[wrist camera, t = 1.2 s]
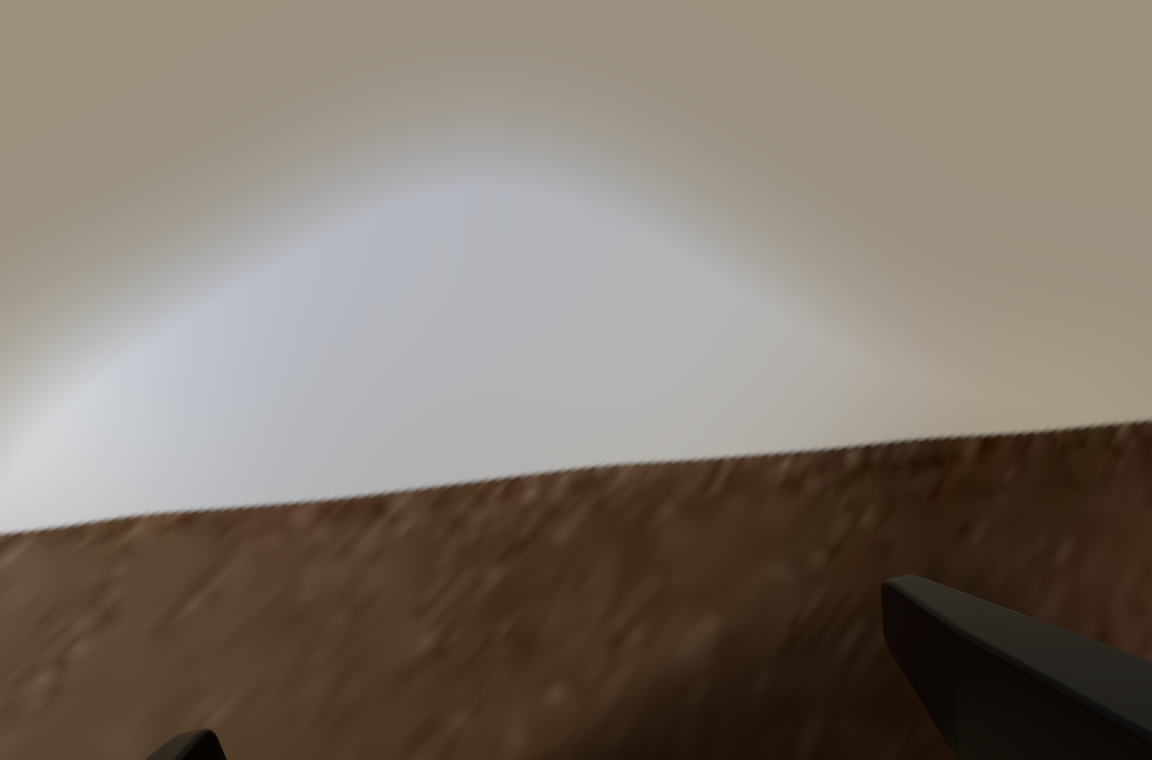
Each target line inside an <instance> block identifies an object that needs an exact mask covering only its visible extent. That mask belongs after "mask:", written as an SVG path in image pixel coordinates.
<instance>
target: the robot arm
mask: <svg viewBox="0 0 1152 760" xmlns="http://www.w3.org/2000/svg"><path fill="white" fill-rule="evenodd" d="M881 604H882V619H883V632H884V637H885V640H886V643H887V646H888V648H889V650H890V652H891V653H892V655H893V657H894V658H895V660H896V661H897V663H898V665H899V666H900V668H901V670H902V671H903V673H904V674H905V676H906V678H907V679H908V681H909V682H910V684H911V686H912V687H913V689H914V691H915V692H916V694H917V695H918V697H919V699H920V700H921V702H922V704H923V705H924V707H925V708H926V710H927V712H928V713H929V715H930V716H931V718H932V720H933V721H934V723H935V725H936V726H937V728H938V729H939V731H940V733H941V734H942V736H943V738H944V739H945V741H946V742H947V744H948V745H949V747H950V749H951V750H952V752H953V753H954V755H955V756H956V758H957V759H958V760H1152V661H1151V660H1148V659H1145V658H1142V657H1140V656H1137V655H1134V654H1131V653H1129V652H1126V651H1123V650H1120V649H1118V648H1115V647H1112V646H1109V645H1107V644H1104V643H1101V642H1098V641H1096V640H1093V639H1090V638H1087V637H1085V636H1082V635H1079V634H1076V633H1074V632H1071V631H1068V630H1066V629H1063V628H1060V627H1057V626H1055V625H1052V624H1049V623H1046V622H1044V621H1041V620H1038V619H1035V618H1033V617H1030V616H1027V615H1024V614H1022V613H1019V612H1016V611H1013V610H1011V609H1008V608H1005V607H1002V606H1000V605H997V604H994V603H991V602H989V601H986V600H983V599H980V598H978V597H975V596H972V595H969V594H967V593H964V592H961V591H958V590H956V589H953V588H950V587H947V586H945V585H942V584H939V583H936V582H934V581H931V580H928V579H926V578H923V577H920V576H917V575H912V574H909V575H904V576H900V577H895V578H891V579H887V580H885V581H884V582H883V583H882V585H881ZM145 760H227V759H226V757H225V754H224V752H223V750H222V747H221V745H220V742H219V740H218V738H217V736H216V734H215V733H214V732H213V731H212V730H210V729H201V730H196V731H192V732H187V733H183V734H179V735H177V736H175V737H173V738H172V739H170V740H169V741H168V742H166V743H165V744H164V745H163V746H161V747H160V748H159V749H157V750H156V751H155V752H154V753H152V754H151V755H150V756H149V757H147V758H146V759H145Z"/></svg>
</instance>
